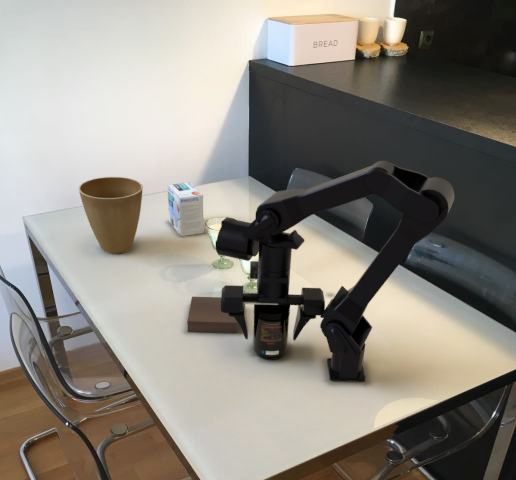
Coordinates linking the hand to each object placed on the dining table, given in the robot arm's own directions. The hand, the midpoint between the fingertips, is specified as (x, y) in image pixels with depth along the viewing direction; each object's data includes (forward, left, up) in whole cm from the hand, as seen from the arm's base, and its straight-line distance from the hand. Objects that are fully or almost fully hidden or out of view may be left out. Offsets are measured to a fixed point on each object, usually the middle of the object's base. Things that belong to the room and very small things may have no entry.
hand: (270, 338), depth 114 cm
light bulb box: (+58, +22, -3) cm, 62 cm away
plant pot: (+44, +38, -3) cm, 58 cm away
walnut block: (+11, +11, -3) cm, 16 cm away
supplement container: (0, 0, -3) cm, 3 cm away
